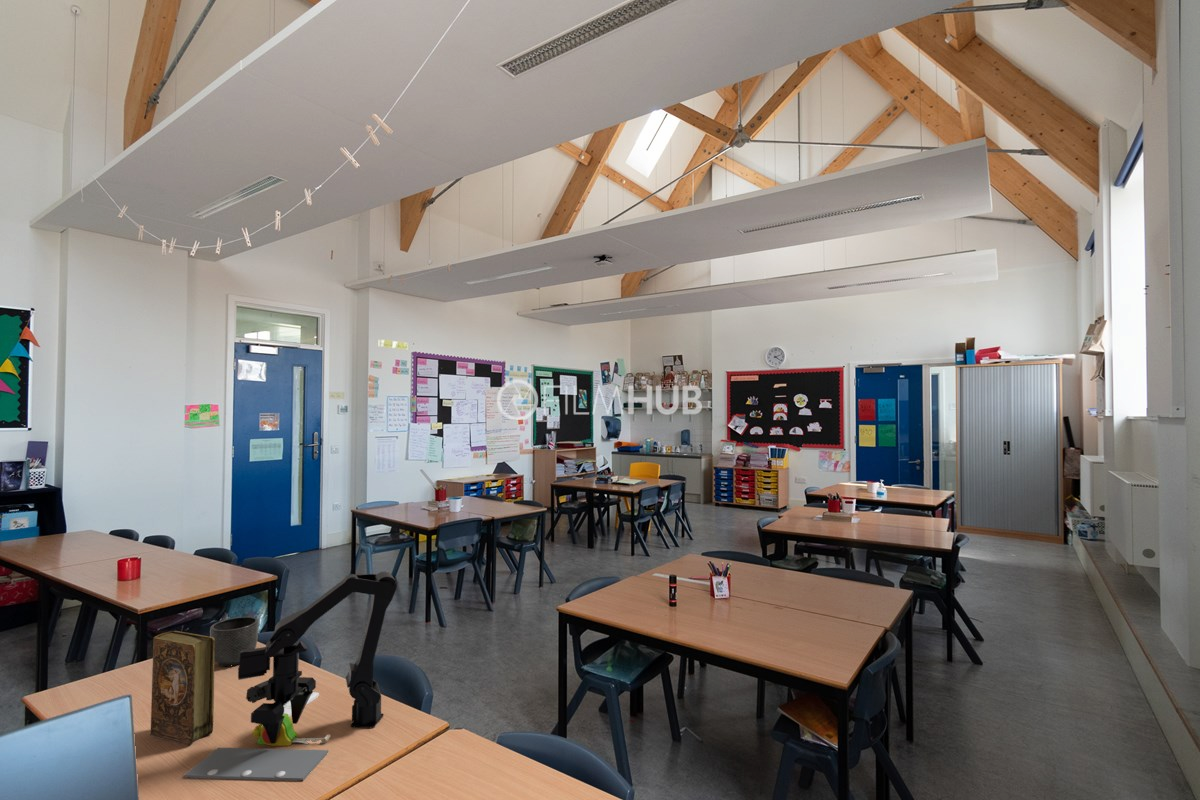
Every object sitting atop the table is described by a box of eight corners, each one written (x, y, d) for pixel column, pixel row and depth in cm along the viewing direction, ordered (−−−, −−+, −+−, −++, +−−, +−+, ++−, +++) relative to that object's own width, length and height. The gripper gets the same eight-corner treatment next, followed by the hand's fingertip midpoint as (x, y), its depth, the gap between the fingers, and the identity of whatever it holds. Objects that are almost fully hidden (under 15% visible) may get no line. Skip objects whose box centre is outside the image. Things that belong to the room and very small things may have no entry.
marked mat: (328, 752, 139) (328, 749, 139) (303, 781, 128) (303, 777, 128) (218, 749, 140) (218, 746, 140) (183, 777, 129) (183, 774, 129)
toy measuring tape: (260, 734, 147) (261, 709, 147) (334, 735, 147) (335, 709, 147) (244, 749, 141) (245, 722, 141) (322, 749, 140) (322, 722, 141)
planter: (198, 669, 186) (199, 629, 187) (232, 652, 200) (233, 615, 200) (235, 672, 184) (236, 631, 184) (267, 654, 198) (268, 617, 198)
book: (146, 734, 147) (149, 637, 148) (169, 724, 152) (171, 630, 153) (191, 746, 142) (194, 645, 143) (212, 735, 147) (215, 637, 148)
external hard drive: (319, 698, 168) (288, 719, 155) (294, 695, 169) (262, 716, 157) (319, 692, 168) (288, 713, 156) (295, 690, 169) (262, 710, 157)
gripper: (277, 655, 154) (276, 713, 154) (229, 687, 136) (228, 753, 135) (317, 655, 154) (316, 714, 153) (275, 688, 135) (273, 754, 135)
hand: (284, 733), depth 144 cm, fingers open, 9 cm apart
